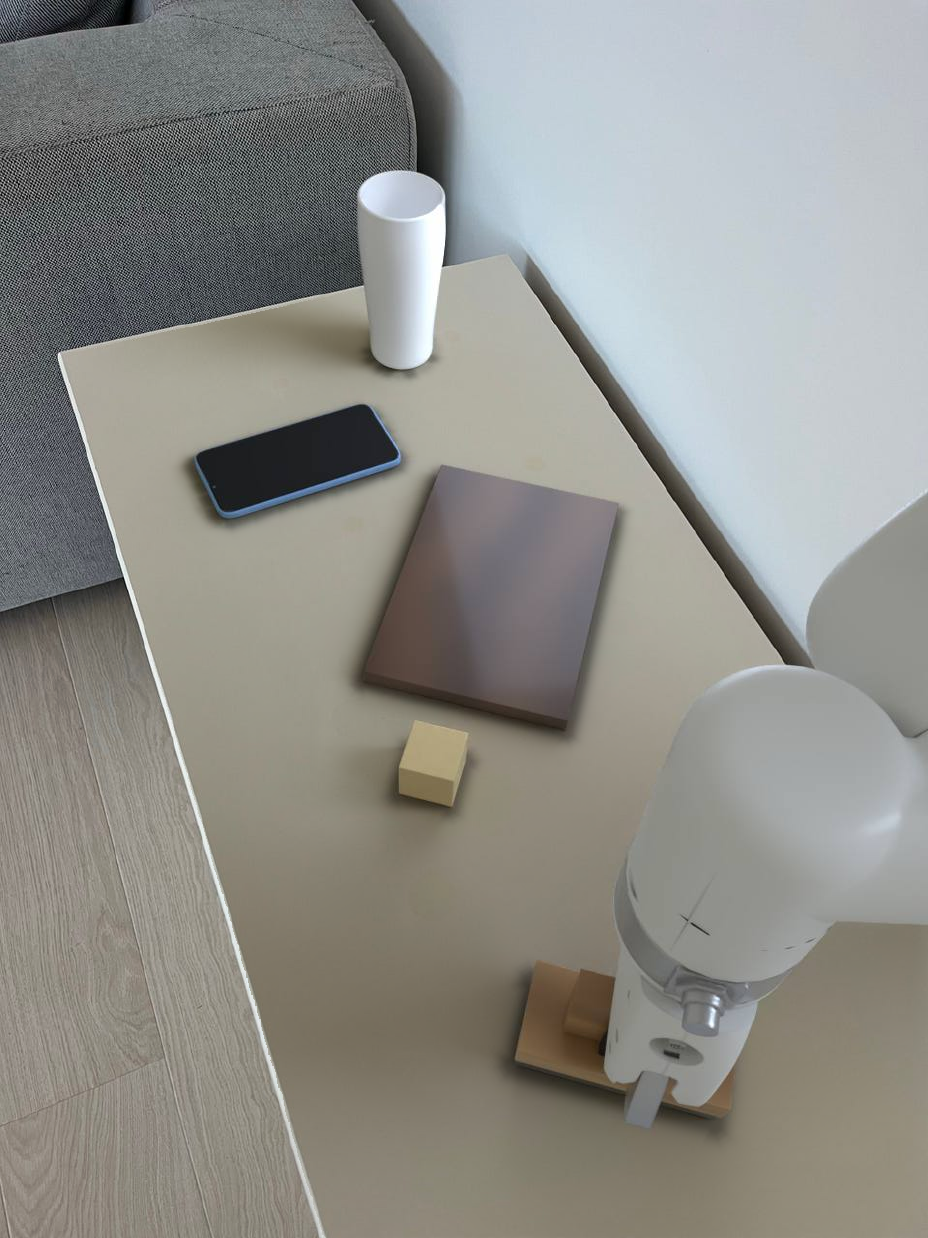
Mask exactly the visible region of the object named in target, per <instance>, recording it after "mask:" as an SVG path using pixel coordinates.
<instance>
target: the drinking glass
mask: <svg viewBox="0 0 928 1238" xmlns="http://www.w3.org/2000/svg"><path fill="white" fill-rule="evenodd" d="M356 230H357V231H356V232H357V245H358V253H359V262H360V266H361V269H360V270H361V274H362V275H361V276H362V282H363V290H364V296H365V303H366V311H367V318H368V320H367V321H368V327H369V344H370V350H371V353H372V356H373V357H374V358H375V360H377V362H378V363H380V364H381V365H383V366H384V367H387V368H390V369H394V370H410V369H414V368H417V367H419V366H420V367H421V365H423V364H425V363H426V362H427V361H428V359H430V358H431V355H432V353H433V349H434V332H435V331H434V330H435V322H436V315H437V306H438V298H439V292H440V283H441V275H442V269H443V261H444V253H445V244H446V243H445V242H446V194H445V190H444V188H443V187H442V185H440V183H439V182H438V181H436V180H435V179H434V178H432V177H430V176H428V175H426V174H424V173H421V172H416V171H411V170H402V169H401V170H399V169H398V170H388V171H382V172H379V173H376V174H374V175H372V176H370V177H368V178H366V179H365V181H363V182H362V183H361V185H360V186H359V188H358V189H357V194H356Z"/></svg>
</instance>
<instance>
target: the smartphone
mask: <svg viewBox="0 0 928 1238" xmlns="http://www.w3.org/2000/svg"><path fill="white" fill-rule="evenodd" d="M401 459H402V456H401V452H400V449H399V447H398V446H397V445H396V443H395V441H394V440H393V437H392V436H391V434H390V433H389V432H388V430H387V429H386V427H385V425H384V424H383V422H382V421H381V419H380V418H379V416H378V415H377V412H376V411H375V409H373V407H372V406H370V405H368V404H367V403H358V404H353V405H350V406H347V407H343V408H341V409H337V410H333V411H330V412H327V413H323V414H319V415H316V416H313V417H310V418H306V419H304V420H300V421H297V422H293V423H290V424H286V425H282V426H279V427H276V428H274V429H270V430H266V431H263V432H260V433H257V434H253V435H249V436H247V437H244V438H240V439H236V440H233V441H229V442H227V443H223V444H219V445H216V446H213V447H209V448H206V449H203V450H201V451H199V452H198V453H197V454H196V455H195V457H194V465H195V468H196V471H197V472H198V474H199V477H200V478H201V481H202V483H203V485H204V487H205V489H206V492H208V495H209V498H210V499H211V502H212V504H213V506H214V508H215V510H216V512H217V514H218V515H220V517H222V518H224V519H235V518H239V517H243V516H245V515H248V514H251V513H255V512H258V511H261V510H264V509H267V508H270V507H273V506H277V505H280V504H283V503H286V502H290V501H292V500H296V499H298V498H302V497H305V496H308V495H311V494H315V493H317V492H320V491H324V490H326V489H329V488H333V487H336V486H339V485H342V484H345V483H348V482H351V481H355V480H358V479H362V478H364V477H367V476H370V475H373V474H377V473H380V472H383V471H386V470H389V469H391V468H394V467H396V466H398V465H399V464H400V463H401Z"/></svg>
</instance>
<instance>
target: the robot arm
mask: <svg viewBox="0 0 928 1238" xmlns="http://www.w3.org/2000/svg"><path fill="white" fill-rule="evenodd" d="M805 637H806V638H805V639H806V646H807V649H808V653H809V656H810V659H811V662H812V664H813V666H814V668H811V667H807V666H802V665H790V664H762V665H758V666H754V667H747V668H744V669H742V670H739V671H737V672H735V673H732V674H729V675H728V676H725V677H723V678H722V679H720V680H719V681H717V682H715V683H714V684H712V685H711V686H710V687H708V688H707V689H706V691H704V692H703V693H702V694H701V695H700V696H699V697H698V698H697V699H696V700H695V701H694V702H693V703H692V705H691V706H690V707H689V708H688V710H687V711H686V713H685V715H684V717H683V719H682V721H681V723H680V724H679V727H678V728H677V731H676V733H675V736H674V737H673V740H672V742H671V745H670V747H669V749H668V752H667V755H666V757H665V759H664V761H663V764H662V767H661V769H660V772H659V773H658V777H657V780H656V782H655V784H654V786H653V789H652V791H651V794H650V796H649V799H648V801H647V804H646V807H645V809H644V812H643V813H642V817H641V819H640V821H639V824H638V827H637V829H636V831H635V834H634V836H633V838H632V841H631V843H630V845H629V848H628V850H627V853H626V855H625V858H624V860H623V862H622V864H621V868H620V869H619V872H618V874H617V876H616V879H615V882H614V885H613V890H612V898H611V913H612V914H611V916H612V922H613V926H614V931H615V934H616V937H617V939H618V943H619V945H620V950H619V955H618V961H617V966H616V973H615V977H616V979H615V986H614V992H613V999H612V1006H611V1013H610V1021H609V1027H608V1029H607V1031H606V1033H605V1034H604V1036H603V1038H602V1040H601V1042H600V1045H599V1051H598V1054H599V1055H601V1056H604V1057H605V1060H604V1070H605V1072H606V1074H607V1076H608V1078H609V1079H610V1080H611V1082H612V1083H616V1081H617V1082H619V1083H622V1084H625V1083H628V1085H627V1088H626V1095H624V1107H623V1116H622V1122H623V1123H625V1124H629V1125H633V1126H636V1127H640V1128H643V1129H646V1130H651V1129H652V1127H653V1124H654V1121H655V1118H656V1116H657V1114H658V1111H659V1108H660V1106H661V1105H660V1103H661V1101H662V1098H663V1095H664V1093H665V1090H666V1088H667V1085H668V1083H669V1080H670V1079H673V1080H677V1081H676V1082H675V1084H674V1085H673V1086H672V1088H671V1094H672V1096H673V1097H674V1099H675V1100H676V1101H677V1102H678V1103H679V1104H684V1105H689V1106H696V1107H699V1106H701V1105H703V1104H704V1103H706V1102H707V1101H708V1100H709V1099H710V1098H711V1096H712V1095H713V1094H714V1093H715V1092H716V1090H717V1089H718V1088H719V1086H720V1085H721V1084H722V1082H723V1081H724V1079H725V1078H726V1076H727V1075H728V1073H729V1072H730V1070H731V1068H732V1067H733V1065H734V1064H735V1065H736V1062H737V1060H738V1058H739V1056H740V1054H741V1052H742V1051H743V1048H744V1046H745V1043H746V1041H747V1039H748V1036H749V1034H750V1032H751V1029H752V1026H753V1022H754V1020H755V1016H756V1013H757V1009H758V1005H759V1002H760V1001H761V1000H763V999H765V998H766V997H768V996H769V995H770V994H772V993H773V991H775V990H776V989H778V987H779V986H780V985H781V984H782V982H784V981H785V980H786V978H787V977H788V976H789V975H790V974H791V973H792V972H793V970H795V969H796V967H797V966H798V965H799V964H800V963H801V962H802V960H804V958H805V957H806V956H807V954H809V953H810V951H811V950H812V949H813V948H815V946H816V945H817V944H818V942H819V941H820V940H821V939H822V938H823V937H824V936H825V935H826V933H827V932H828V931H829V930H830V929H831V928H832V927H833V926H834V925H835V924H836V922H837V923H840V922H841V923H867V924H868V923H870V924H894V925H895V924H896V925H897V924H898V925H916V926H917V925H918V926H928V487H927V488H926V489H925V490H923V491H922V492H920V494H918V495H917V496H916V497H914V498H913V499H912V500H911V501H909V502H907V504H905V505H904V506H902V507H901V509H899V510H898V511H896V512H895V513H894V514H892V515H891V516H890V517H889V518H888V519H886V520H885V521H884V522H882V524H880V525H879V526H878V527H876V528H875V529H874V530H873V531H872V532H870V533H869V534H868V535H867V536H866V537H864V538H863V539H862V540H860V542H859V543H858V544H856V545H855V546H854V547H853V548H851V550H850V551H849V552H848V553H847V554H846V555H845V556H844V557H843V558H842V559H841V560H840V561H839V562H838V563H837V564H836V565H835V566H834V568H833V569H832V570H830V572H829V573H828V574H827V576H826V577H825V578H824V579H823V580H822V582H821V585H819V587H818V589H817V591H816V592H815V594H814V596H813V597H812V600H811V602H810V605H809V607H808V611H807V616H806V624H805Z"/></svg>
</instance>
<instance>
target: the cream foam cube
mask: <svg viewBox="0 0 928 1238" xmlns="http://www.w3.org/2000/svg"><path fill="white" fill-rule="evenodd" d="M468 741H469V733H468V732H466V731H465V732H464V731H461V730H457V729H453V728H449V727H445V726H441V725H436V724H433V723H429V722H424V721H420V720H415V719H414V720H413V723H412V726H411V729H410V732H409V735H408V738H407V741H406V744H405V746H404V749H403V753H402V756H401V759H400V762H399V765H398V794H400V795H404V796H407V797H411V798H414V799H415V798H416V799H419V800H422V801H423V800H424V801H426V802H431V803H435V804H437V805H438V804H439V805H443V806H446V807H450V808H452V807H454V803H455V799H456V796H457V793H458V788H459V786H460V782H461V779H462V775H463V771H464V768H465V765H466V763H467V762H466V761H467V753H468Z"/></svg>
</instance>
